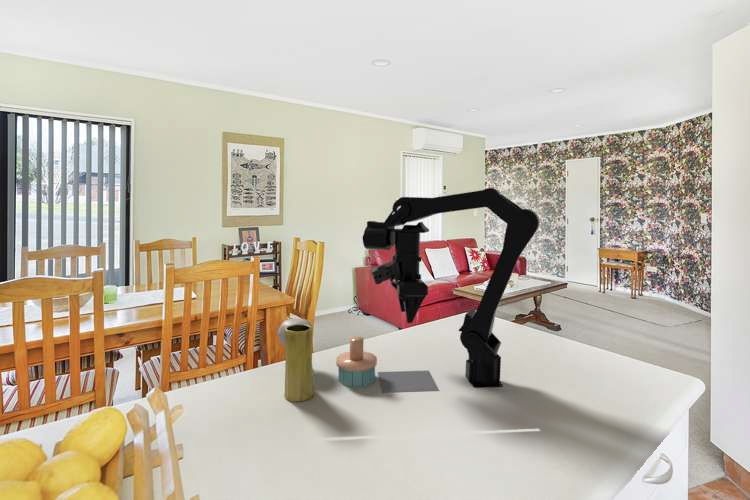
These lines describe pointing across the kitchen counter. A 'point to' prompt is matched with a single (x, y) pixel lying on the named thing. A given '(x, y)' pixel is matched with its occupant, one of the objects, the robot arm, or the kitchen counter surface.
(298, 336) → the vase
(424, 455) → the kitchen counter surface
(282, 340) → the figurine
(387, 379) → the mat
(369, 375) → the bowl
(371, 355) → the lid
